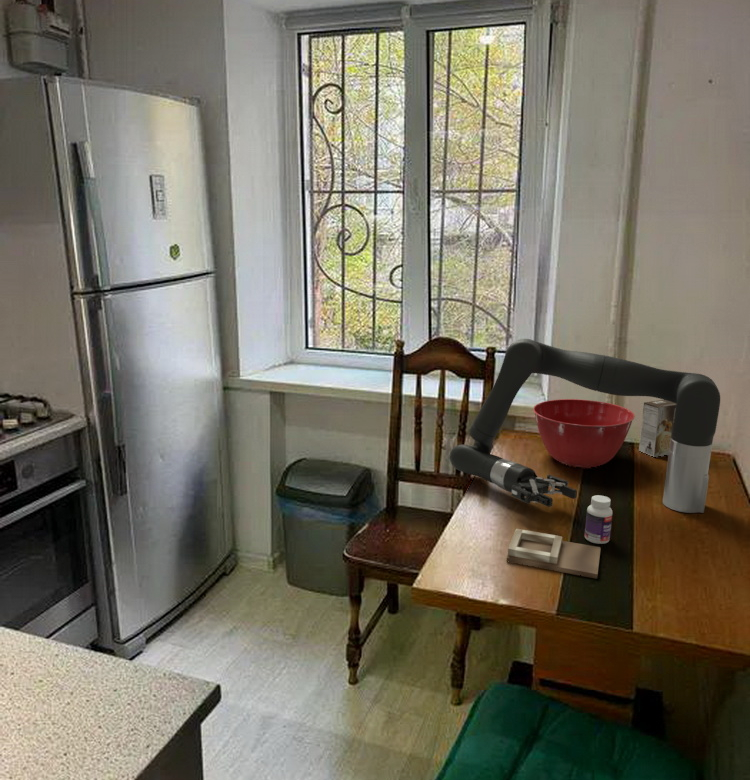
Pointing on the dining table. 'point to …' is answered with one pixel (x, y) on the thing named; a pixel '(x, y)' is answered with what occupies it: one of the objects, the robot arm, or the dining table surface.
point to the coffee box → (657, 427)
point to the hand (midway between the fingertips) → (563, 498)
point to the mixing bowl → (582, 430)
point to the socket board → (553, 553)
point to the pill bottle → (598, 520)
